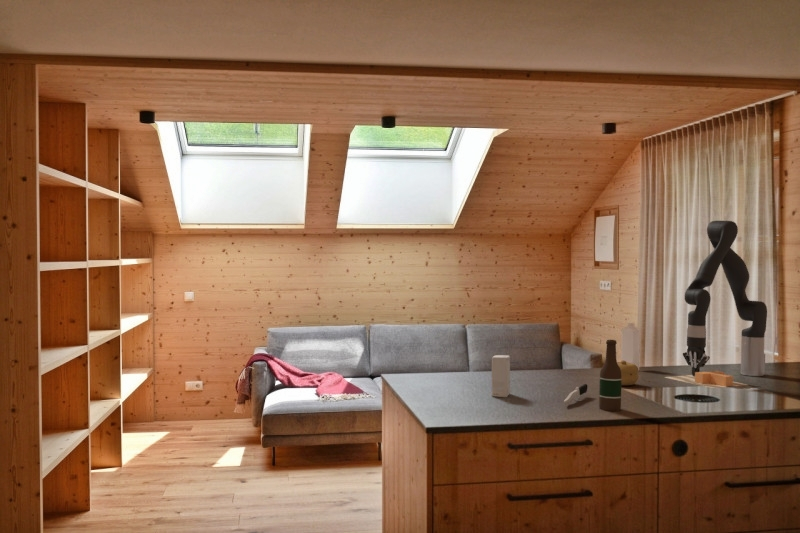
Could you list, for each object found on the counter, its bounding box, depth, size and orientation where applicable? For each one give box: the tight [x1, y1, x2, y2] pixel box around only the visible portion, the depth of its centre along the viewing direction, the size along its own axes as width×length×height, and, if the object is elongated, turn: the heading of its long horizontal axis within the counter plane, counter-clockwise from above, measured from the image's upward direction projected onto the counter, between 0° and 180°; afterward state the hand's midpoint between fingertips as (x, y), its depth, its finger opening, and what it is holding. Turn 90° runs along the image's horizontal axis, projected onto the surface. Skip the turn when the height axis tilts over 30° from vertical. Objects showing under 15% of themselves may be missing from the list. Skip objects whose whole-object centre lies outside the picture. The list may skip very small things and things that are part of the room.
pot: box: [617, 360, 639, 386], centre depth 297 cm, size 12×12×10 cm
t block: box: [695, 370, 734, 388], centre depth 296 cm, size 12×12×4 cm
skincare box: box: [491, 354, 511, 398], centre depth 272 cm, size 8×6×15 cm
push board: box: [664, 374, 748, 389], centre depth 302 cm, size 20×26×1 cm
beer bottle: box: [598, 339, 622, 412], centre depth 251 cm, size 8×8×24 cm
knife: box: [563, 383, 588, 407], centre depth 262 cm, size 25×2×5 cm, turn 148°
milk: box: [620, 322, 641, 372], centre depth 332 cm, size 6×6×22 cm
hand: (695, 376), depth 307 cm, fingers closed
